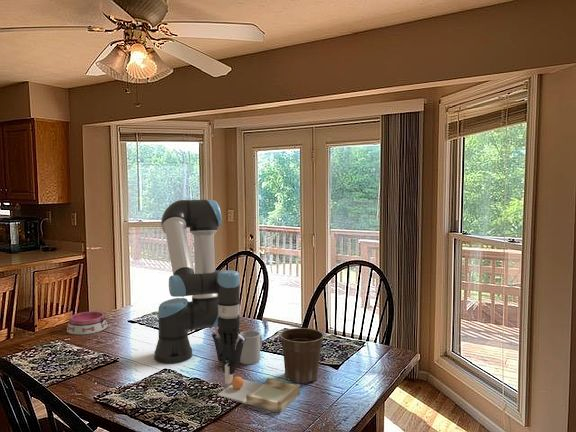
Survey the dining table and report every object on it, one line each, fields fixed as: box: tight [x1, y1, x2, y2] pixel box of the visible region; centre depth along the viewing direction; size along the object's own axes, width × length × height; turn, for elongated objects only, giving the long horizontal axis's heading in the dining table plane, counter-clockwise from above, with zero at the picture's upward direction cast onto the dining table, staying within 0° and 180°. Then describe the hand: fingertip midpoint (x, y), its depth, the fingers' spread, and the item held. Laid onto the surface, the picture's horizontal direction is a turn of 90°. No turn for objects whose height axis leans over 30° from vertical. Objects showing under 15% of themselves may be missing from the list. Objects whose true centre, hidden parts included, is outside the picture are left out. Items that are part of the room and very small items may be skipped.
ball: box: [231, 376, 243, 389], centre depth 154 cm, size 4×4×4 cm
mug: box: [239, 330, 263, 365], centre depth 182 cm, size 12×8×11 cm
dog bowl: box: [66, 310, 109, 336], centre depth 218 cm, size 18×19×7 cm
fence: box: [246, 378, 301, 414], centre depth 148 cm, size 12×14×4 cm
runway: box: [216, 378, 301, 414], centre depth 151 cm, size 24×14×1 cm, turn 63°
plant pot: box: [279, 327, 325, 384], centre depth 165 cm, size 16×16×16 cm
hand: (228, 382), depth 156 cm, fingers closed
